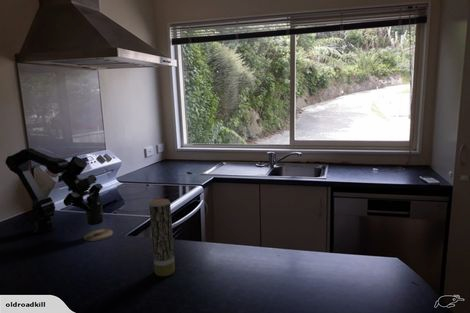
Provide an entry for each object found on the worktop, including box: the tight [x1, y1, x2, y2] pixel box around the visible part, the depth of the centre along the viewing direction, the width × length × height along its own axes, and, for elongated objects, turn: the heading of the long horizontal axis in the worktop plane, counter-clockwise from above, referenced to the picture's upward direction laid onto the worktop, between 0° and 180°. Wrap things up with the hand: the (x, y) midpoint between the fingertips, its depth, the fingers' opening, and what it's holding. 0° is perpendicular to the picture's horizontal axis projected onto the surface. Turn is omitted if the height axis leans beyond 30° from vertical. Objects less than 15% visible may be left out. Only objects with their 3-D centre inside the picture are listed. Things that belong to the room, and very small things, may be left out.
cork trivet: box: [83, 228, 114, 242], centre depth 151 cm, size 12×12×1 cm
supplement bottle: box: [84, 195, 104, 226], centre depth 147 cm, size 7×7×12 cm
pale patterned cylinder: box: [148, 198, 176, 277], centre depth 114 cm, size 7×7×25 cm
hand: (96, 208), depth 147 cm, fingers closed on supplement bottle, 7 cm apart
